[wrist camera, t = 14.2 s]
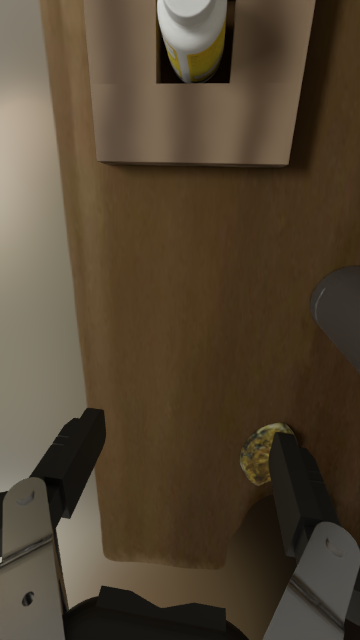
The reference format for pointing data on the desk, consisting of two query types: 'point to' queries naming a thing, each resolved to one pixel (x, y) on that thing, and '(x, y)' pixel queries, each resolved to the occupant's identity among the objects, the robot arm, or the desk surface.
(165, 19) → the supplement bottle
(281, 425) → the noodle cake
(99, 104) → the socket board
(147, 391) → the desk surface
